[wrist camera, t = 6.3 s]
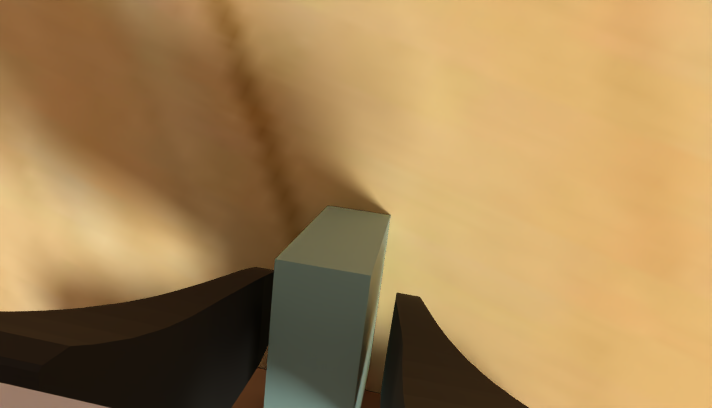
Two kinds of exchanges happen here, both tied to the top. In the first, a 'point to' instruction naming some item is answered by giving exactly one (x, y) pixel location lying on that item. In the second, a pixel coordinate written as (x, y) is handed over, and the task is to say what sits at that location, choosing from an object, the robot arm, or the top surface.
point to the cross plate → (325, 311)
